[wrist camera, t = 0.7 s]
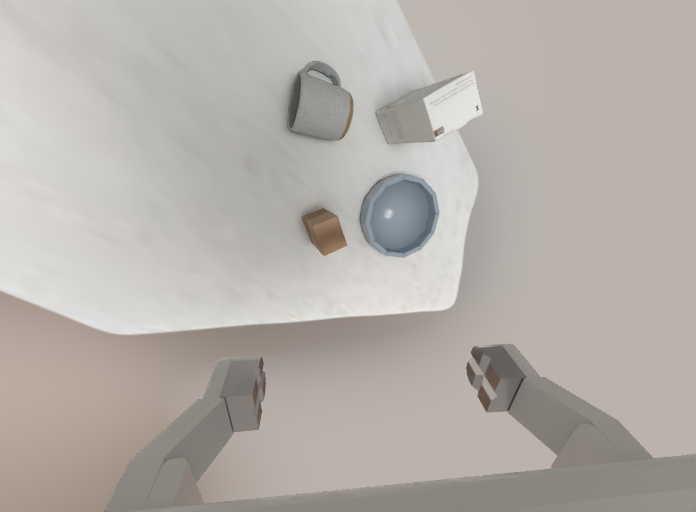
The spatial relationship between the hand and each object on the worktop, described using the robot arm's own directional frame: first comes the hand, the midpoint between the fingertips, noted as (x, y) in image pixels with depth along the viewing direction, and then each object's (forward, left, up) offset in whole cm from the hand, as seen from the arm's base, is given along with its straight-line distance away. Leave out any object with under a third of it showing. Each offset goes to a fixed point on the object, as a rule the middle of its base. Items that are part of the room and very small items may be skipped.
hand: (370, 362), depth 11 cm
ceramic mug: (-13, +13, -41) cm, 45 cm away
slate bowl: (+10, +22, -40) cm, 47 cm away
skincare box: (-6, +27, -41) cm, 49 cm away
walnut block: (+6, +7, -40) cm, 41 cm away
